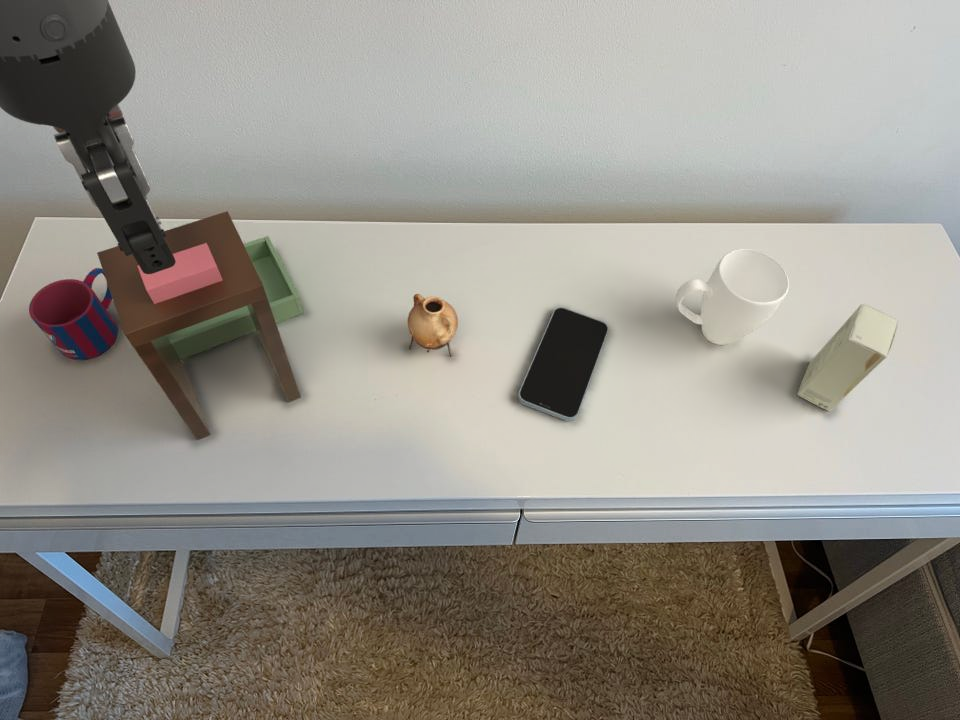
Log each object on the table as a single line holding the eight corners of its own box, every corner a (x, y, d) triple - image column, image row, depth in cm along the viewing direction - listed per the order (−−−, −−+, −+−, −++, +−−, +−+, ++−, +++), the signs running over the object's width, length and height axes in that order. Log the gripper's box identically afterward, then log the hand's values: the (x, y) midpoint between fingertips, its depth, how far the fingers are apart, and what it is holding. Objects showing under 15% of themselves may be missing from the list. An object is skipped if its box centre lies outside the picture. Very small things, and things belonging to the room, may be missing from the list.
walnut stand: (197, 440, 74) (124, 334, 57) (172, 371, 79) (96, 252, 61) (301, 397, 78) (263, 284, 60) (271, 333, 82) (227, 210, 65)
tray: (172, 362, 79) (162, 346, 76) (148, 296, 84) (138, 279, 81) (303, 313, 84) (299, 296, 81) (273, 253, 89) (268, 235, 86)
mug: (740, 305, 89) (778, 247, 80) (757, 358, 85) (799, 304, 75) (652, 305, 88) (679, 247, 79) (665, 359, 84) (695, 304, 74)
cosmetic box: (829, 413, 81) (887, 360, 71) (795, 395, 82) (847, 340, 72) (843, 375, 84) (901, 319, 74) (810, 358, 85) (862, 301, 75)
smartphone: (611, 324, 85) (576, 421, 77) (609, 328, 86) (574, 424, 78) (556, 304, 86) (515, 398, 78) (554, 308, 87) (514, 401, 79)
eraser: (154, 304, 58) (146, 290, 57) (145, 280, 60) (136, 265, 58) (222, 280, 60) (216, 266, 58) (212, 257, 61) (206, 242, 60)
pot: (410, 323, 85) (405, 363, 81) (410, 278, 79) (404, 319, 75) (457, 327, 85) (454, 367, 81) (461, 282, 79) (457, 324, 75)
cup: (45, 345, 79) (14, 311, 74) (106, 287, 84) (82, 251, 79) (89, 369, 78) (62, 336, 72) (149, 308, 83) (128, 273, 77)
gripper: (-74, -48, 36) (65, 178, 50) (-31, 109, 30) (114, 317, 44) (72, -75, 39) (167, 148, 52) (139, 65, 32) (227, 277, 46)
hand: (143, 225), depth 48 cm, fingers open, 8 cm apart
